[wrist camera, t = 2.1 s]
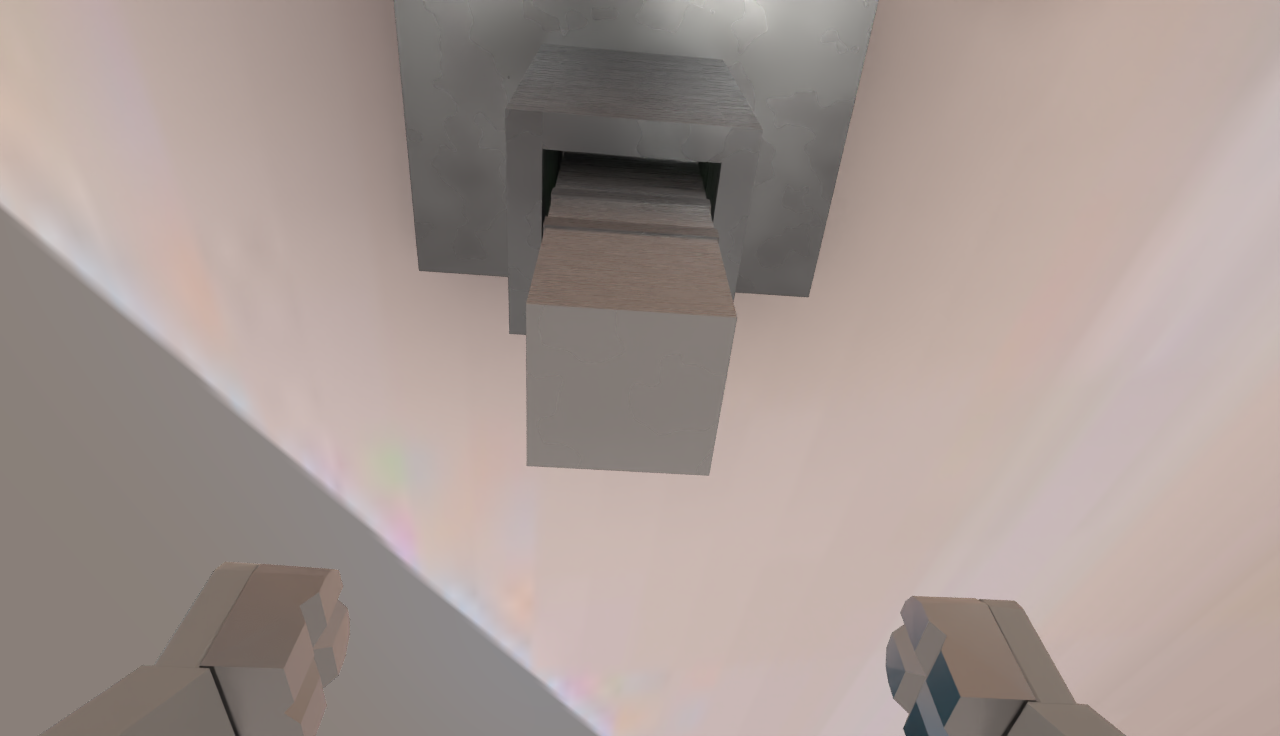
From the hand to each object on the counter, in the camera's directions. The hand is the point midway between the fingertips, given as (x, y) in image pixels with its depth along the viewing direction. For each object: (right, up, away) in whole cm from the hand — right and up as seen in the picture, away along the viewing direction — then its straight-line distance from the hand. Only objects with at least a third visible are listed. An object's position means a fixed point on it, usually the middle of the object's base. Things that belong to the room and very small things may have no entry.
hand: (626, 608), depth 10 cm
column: (0, +13, +19) cm, 23 cm away
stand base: (0, +14, +21) cm, 25 cm away
